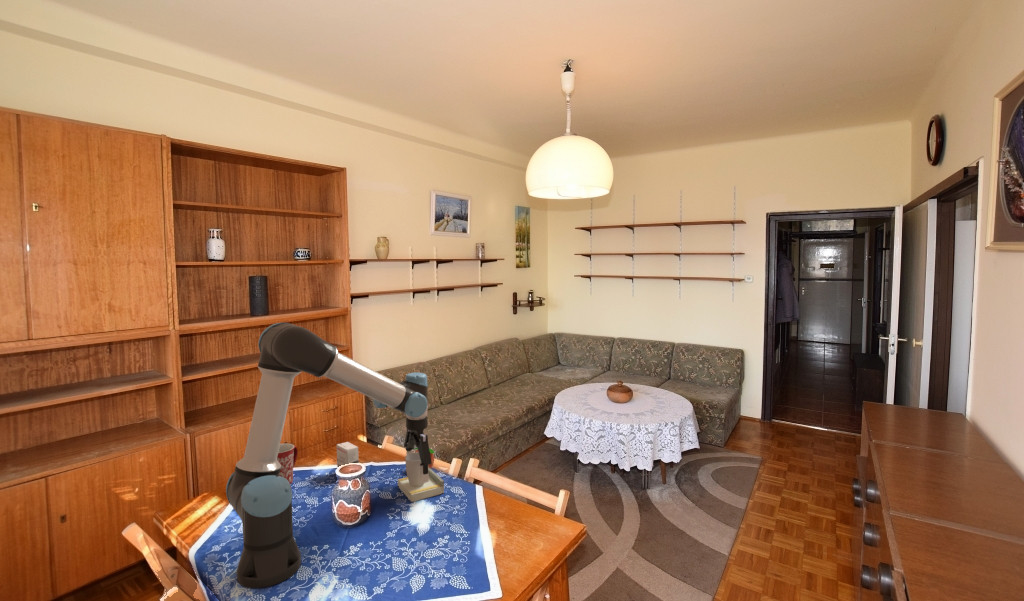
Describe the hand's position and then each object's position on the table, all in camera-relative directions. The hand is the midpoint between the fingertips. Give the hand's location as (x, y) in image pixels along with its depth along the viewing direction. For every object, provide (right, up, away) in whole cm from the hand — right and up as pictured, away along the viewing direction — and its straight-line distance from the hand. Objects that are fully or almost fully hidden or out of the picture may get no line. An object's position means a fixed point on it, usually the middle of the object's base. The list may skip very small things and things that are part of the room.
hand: (417, 475), depth 173 cm
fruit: (-1, -5, +17) cm, 18 cm away
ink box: (-29, -5, +13) cm, 32 cm away
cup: (0, -3, 0) cm, 3 cm away
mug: (-50, -5, +7) cm, 51 cm away
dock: (+1, -6, +1) cm, 6 cm away
